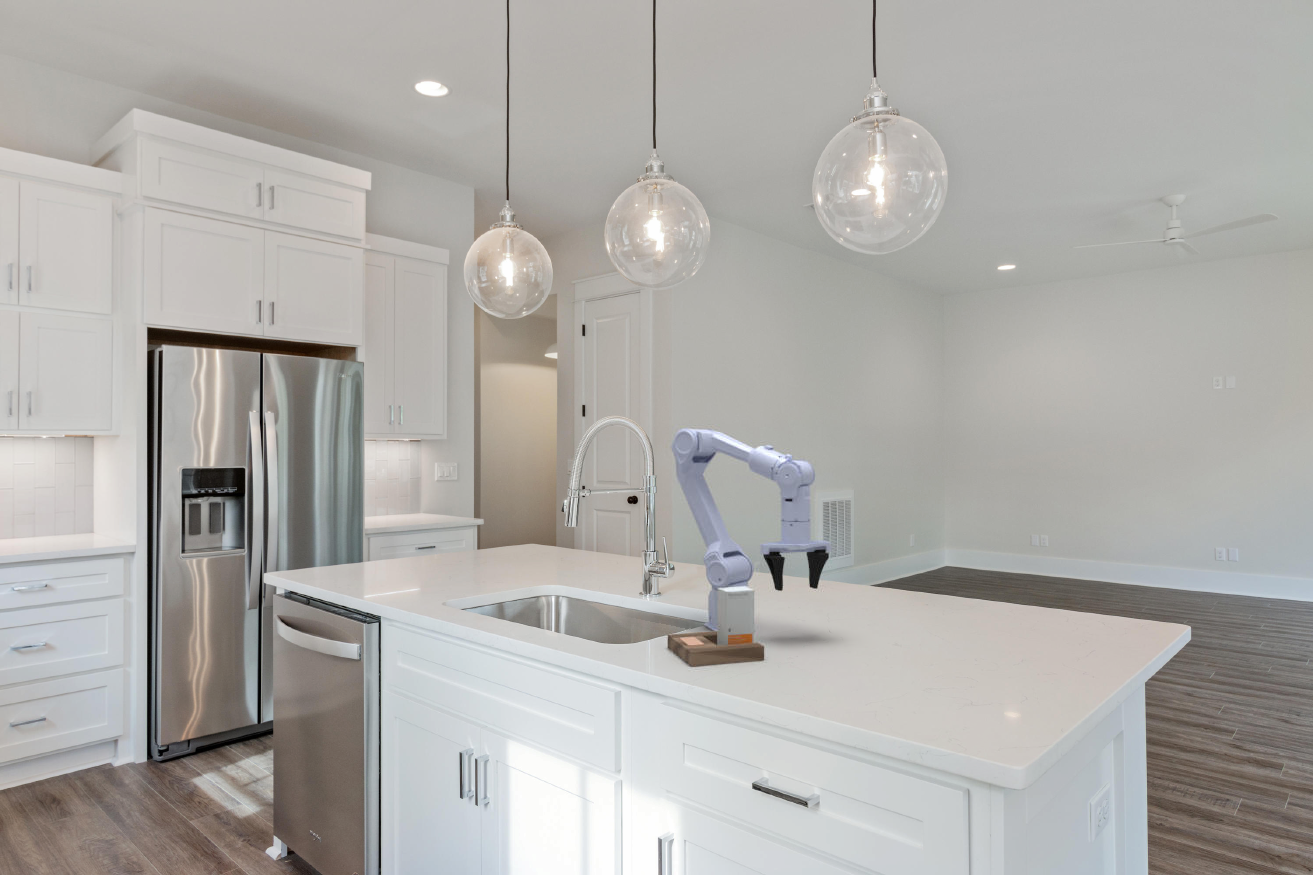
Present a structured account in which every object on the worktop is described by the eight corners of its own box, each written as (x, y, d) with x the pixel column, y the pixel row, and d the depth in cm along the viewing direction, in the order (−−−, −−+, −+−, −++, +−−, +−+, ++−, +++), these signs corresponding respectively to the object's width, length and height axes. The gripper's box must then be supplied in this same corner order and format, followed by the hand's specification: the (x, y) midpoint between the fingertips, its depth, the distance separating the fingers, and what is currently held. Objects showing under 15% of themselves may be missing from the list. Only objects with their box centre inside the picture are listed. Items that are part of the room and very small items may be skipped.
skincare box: (725, 656, 144) (725, 591, 144) (716, 650, 148) (716, 587, 148) (755, 653, 146) (755, 589, 146) (746, 648, 150) (745, 585, 150)
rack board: (667, 647, 151) (667, 633, 151) (735, 642, 155) (734, 628, 155) (691, 666, 137) (691, 651, 137) (764, 660, 141) (764, 645, 141)
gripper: (770, 523, 150) (771, 594, 150) (838, 521, 154) (838, 590, 154) (755, 520, 157) (756, 588, 156) (821, 518, 161) (821, 584, 160)
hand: (796, 588), depth 155 cm, fingers open, 7 cm apart
